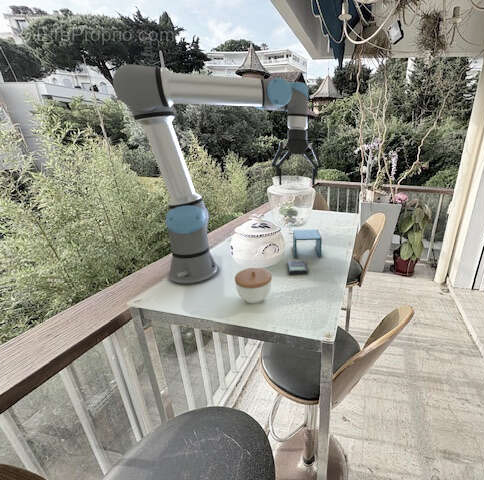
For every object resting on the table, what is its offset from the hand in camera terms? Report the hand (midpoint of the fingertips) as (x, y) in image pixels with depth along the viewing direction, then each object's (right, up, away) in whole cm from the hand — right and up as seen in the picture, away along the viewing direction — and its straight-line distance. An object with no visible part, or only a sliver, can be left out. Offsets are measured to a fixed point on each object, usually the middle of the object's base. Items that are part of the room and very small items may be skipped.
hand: (296, 184), depth 109 cm
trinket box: (-11, -41, -27) cm, 50 cm away
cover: (+4, -28, +7) cm, 29 cm away
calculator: (+1, -34, -8) cm, 35 cm away
